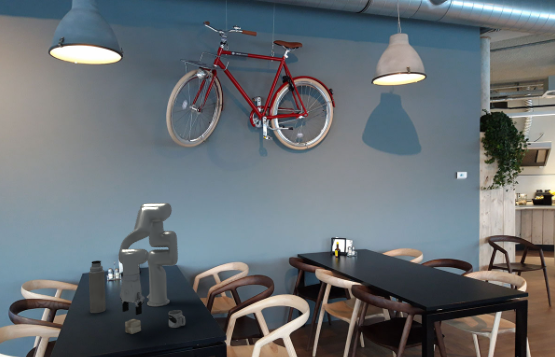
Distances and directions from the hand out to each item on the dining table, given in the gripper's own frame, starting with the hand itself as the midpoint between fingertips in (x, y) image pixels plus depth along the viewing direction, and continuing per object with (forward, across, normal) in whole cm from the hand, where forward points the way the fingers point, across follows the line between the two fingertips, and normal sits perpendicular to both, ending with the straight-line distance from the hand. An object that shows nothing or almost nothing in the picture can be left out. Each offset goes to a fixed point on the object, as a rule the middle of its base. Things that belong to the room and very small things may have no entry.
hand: (132, 312), depth 206 cm
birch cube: (+9, 0, +1) cm, 9 cm away
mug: (+9, +14, +17) cm, 23 cm away
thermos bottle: (+9, -43, +11) cm, 46 cm away
